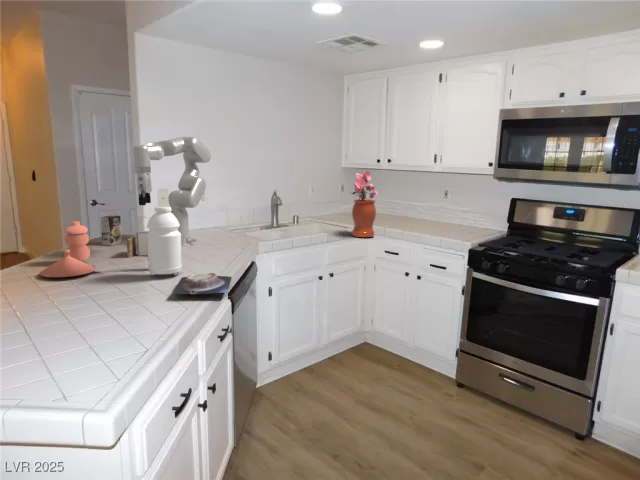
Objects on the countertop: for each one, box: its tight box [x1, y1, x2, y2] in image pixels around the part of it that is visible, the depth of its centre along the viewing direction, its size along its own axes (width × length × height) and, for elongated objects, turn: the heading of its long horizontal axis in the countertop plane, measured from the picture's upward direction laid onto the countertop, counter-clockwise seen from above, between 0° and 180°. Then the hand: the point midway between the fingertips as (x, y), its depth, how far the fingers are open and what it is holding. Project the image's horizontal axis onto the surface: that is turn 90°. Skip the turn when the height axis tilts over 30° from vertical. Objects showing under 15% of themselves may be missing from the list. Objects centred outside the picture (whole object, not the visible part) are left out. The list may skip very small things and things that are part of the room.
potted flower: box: [349, 170, 379, 238], centre depth 292 cm, size 19×25×45 cm
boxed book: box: [135, 230, 150, 257], centre depth 216 cm, size 8×5×12 cm, turn 96°
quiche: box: [171, 272, 232, 295], centre depth 166 cm, size 21×20×4 cm
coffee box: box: [100, 215, 123, 246], centre depth 242 cm, size 9×6×16 cm
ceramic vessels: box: [38, 220, 96, 278], centre depth 187 cm, size 35×21×19 cm, turn 18°
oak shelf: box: [126, 235, 137, 259], centre depth 217 cm, size 14×15×9 cm
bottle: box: [146, 205, 183, 275], centre depth 184 cm, size 14×14×28 cm
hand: (145, 204), depth 218 cm, fingers open, 9 cm apart
